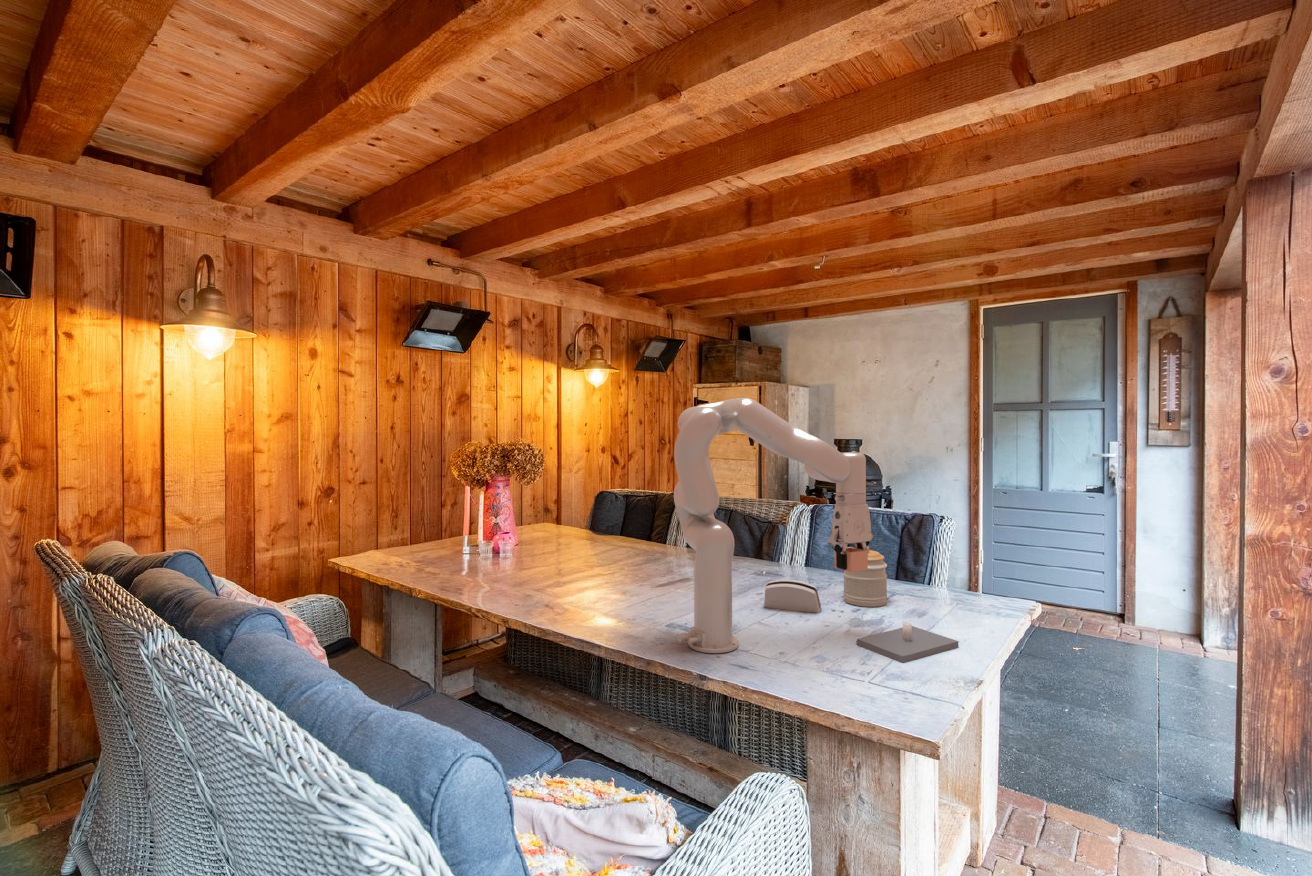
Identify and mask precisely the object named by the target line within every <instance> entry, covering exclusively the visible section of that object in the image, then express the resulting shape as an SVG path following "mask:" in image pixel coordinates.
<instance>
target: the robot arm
mask: <svg viewBox="0 0 1312 876" xmlns="http://www.w3.org/2000/svg"><path fill="white" fill-rule="evenodd" d="M677 427H678V429H679V432H678V434H677V437H676V439H675V444H674V449H673V457H674V464H675V467H676V468H675V469H676V472H677V478H678V482H677V483H676V484H675V487H674V489H673V490H674V491H673V501H674V506H675V509H676V513H677V517H678V521H679V524H680V528H681V531H682V535H683V537H684V540H685V541H686V543H687V544H688V546H690V548H691V549H693V550H694V551H695V559H694V565H693V566H694V567H693V568H694V569H693V611H694V613H693V618H694V619H693V622H694V623H693V625H694V626H690V630H689V631H688V632H686V633H680V634H677V636H676V639H677V642H678V643H685V642H687V644H688V646H689V648H691V649H692V650H693V651H697V652H701V653H705V654H724V653H730V652H734V651H735V650H737V649H738V647H739V646H740V645H739V643H740V642H739V639H738V638H737V637H736V636H734V635H733V581H732V580H733V579H732V578H733V560H734V559H733V558H734V553H735V538H734V534H733V531H732V530H731V528H730V527H729V526H728V525H727V524H726V523H724V522H723V521H722V520H719V519H717V518H716V517H715V514H714V513H715V512H717V509H718V507H719V505H720V493H719V492H718V487H717V485H716V480H715V477H714V473H713V470H712V466H711V460H710V447H711V444H712V442H713V440H714V439H715V438H716V436H718V435H721V434H724V433H729V432H733V431H734V432H735V431H739V432H741V433H742V434H744V435H746V436H747V437H748V438H750V439H752V440H753V441H755V442H757V443H758V444H759V445H761V446H762V447H763V448H766V450H769V451H770V452H772V453H774V454H775V455H778V456H780V457H783V458H786V459H791V460H793V461H796V462H799V463H801V464H803V465H804V466H803V468H804V471H805V473H806V474H807V476H809V477H810V478H812V479H814V480H817V481H820V482H821V481H822V482H828V483H833V484H835V487H836V488H835V497H834V500H835V504H834V508H833V515H832V529H831V532H832V533H831V535H830V537H829V538H828V540H827V543H828V544H829V546H831V548H832V550H833V553H834V552H835V553H836V567H837V568H840V569H839V570H841V569H844V570H846V569H847V554H845V552H846V548H847V547H848V545H852V544H854V545H855V548H858V549H863V550H867V547H869V545H870V542H871V541H872V539H873V537H874V535H873V533H872V525H871V523H872V521H871V515H870V509H869V505H868V503H867V492H866V491H867V486H866V484H867V480H866V479H867V474H866V473H867V459H866V455H865V454H864V453H862V452H855V451H853V452H851V451H850V452H849V451H848V452H845V451H844V452H840V451H839V450H837V449H836V448H835V447H833V446H831V445H830V444H829V443H827V442H826V441H824V440H822V439H820V438H818V437H817V436H815V435H812V434H810V433H808V432H806V431H805V430H803V429H801V428H800V427H799V428H798V427H796V426H795V425H793V424H792V423H790V422H788V421H786V420H785V419H784V418H782V417H781V416H779V415H777V414H776V413H774V412H773V411H771V410H770V409H769V408H767V407H766V406H764V405H762V404H761V403H760V402H758V401H756V400H755V399H753V398H750V397H737V398H729V399H727V400H726V399H725V400H722V401H718V402H713V403H708V404H702V405H696V406H691V407H688V408H686V409H685V410H682V413H680V415H679V417H678V420H677ZM837 568H836V569H837ZM844 570H843V571H844Z"/></svg>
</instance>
